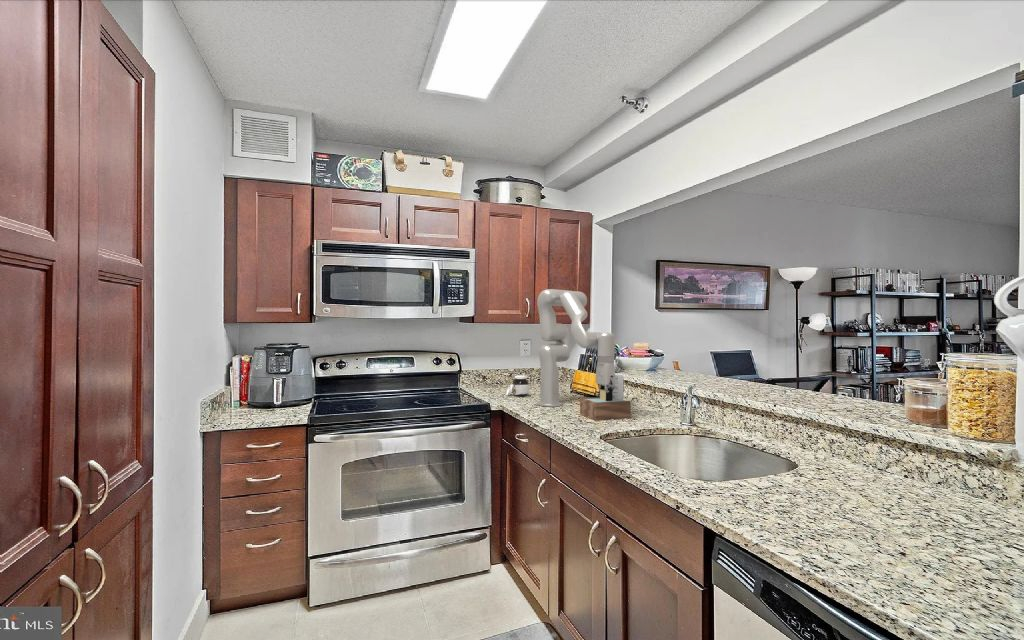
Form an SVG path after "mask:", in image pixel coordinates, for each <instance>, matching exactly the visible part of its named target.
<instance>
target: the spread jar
mask: <svg viewBox="0 0 1024 640" xmlns="http://www.w3.org/2000/svg"><path fill="white" fill-rule="evenodd" d="M506 390H507V391H506V396H508V397H510V395H511V393H512V395H513V396H514V397H517V398H524V397H527V396H528V395H529V392H530V383H529V381H528V379H527V375H521V374H519V375H514V379H513V380H512V383H510V384H509V385H508V387H507V389H506Z"/></svg>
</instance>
